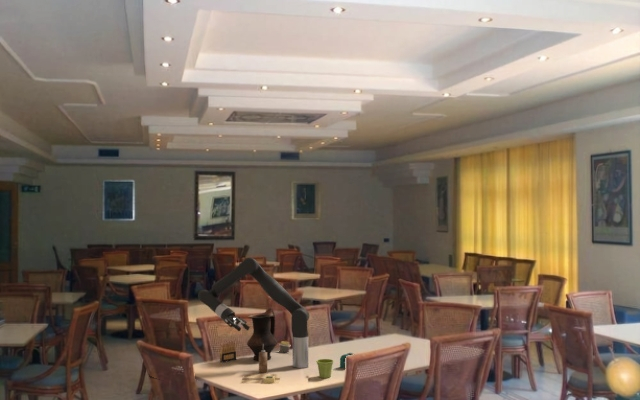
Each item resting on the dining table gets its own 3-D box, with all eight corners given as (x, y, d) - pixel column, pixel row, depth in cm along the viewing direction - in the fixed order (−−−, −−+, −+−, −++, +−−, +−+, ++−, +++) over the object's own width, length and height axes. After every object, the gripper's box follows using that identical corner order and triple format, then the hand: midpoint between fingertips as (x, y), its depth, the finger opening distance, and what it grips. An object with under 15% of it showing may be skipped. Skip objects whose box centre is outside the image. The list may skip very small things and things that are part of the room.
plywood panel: (280, 376, 349) (280, 374, 349) (278, 385, 331) (278, 383, 331) (244, 376, 349) (244, 374, 349) (240, 385, 331) (240, 383, 331)
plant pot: (319, 379, 342) (319, 363, 342) (314, 375, 351) (314, 359, 351) (335, 378, 345) (335, 362, 345) (330, 374, 354) (330, 358, 354)
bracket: (340, 367, 369) (340, 354, 369) (346, 365, 374) (346, 352, 374) (366, 372, 358) (366, 358, 358) (373, 370, 364) (373, 356, 364)
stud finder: (274, 379, 338) (274, 375, 338) (274, 382, 332) (274, 378, 332) (265, 379, 338) (265, 375, 338) (264, 382, 332) (264, 378, 332)
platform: (282, 348, 421) (282, 338, 422) (301, 352, 409) (301, 342, 409) (268, 351, 413) (268, 341, 413) (288, 355, 400) (288, 345, 401)
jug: (265, 364, 378) (265, 312, 378) (240, 360, 387) (240, 310, 388) (285, 357, 395) (285, 308, 396) (261, 353, 405) (261, 306, 406)
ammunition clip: (221, 362, 382) (221, 342, 382) (219, 362, 383) (219, 341, 383) (236, 359, 389) (236, 339, 389) (234, 359, 390) (234, 339, 391)
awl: (267, 373, 355) (267, 343, 356) (266, 375, 351) (266, 344, 351) (259, 373, 355) (259, 343, 356) (258, 375, 351) (258, 344, 351)
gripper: (220, 307, 362) (240, 324, 354) (235, 307, 374) (254, 323, 367) (214, 319, 363) (234, 335, 355) (229, 317, 375) (248, 334, 368)
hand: (244, 329), depth 361 cm, fingers open, 8 cm apart
